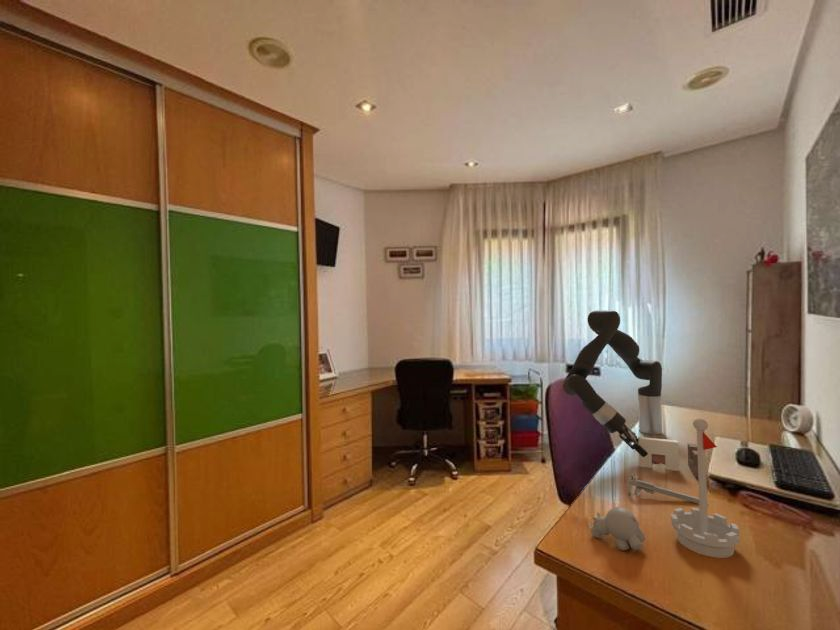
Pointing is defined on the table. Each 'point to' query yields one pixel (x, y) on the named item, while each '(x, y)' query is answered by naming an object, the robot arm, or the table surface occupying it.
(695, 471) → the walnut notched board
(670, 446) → the white notched plate
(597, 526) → the chubby cartoon animal
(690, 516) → the flag stand
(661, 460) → the wooden tablet
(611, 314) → the robot arm
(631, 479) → the caliper
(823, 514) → the table surface
